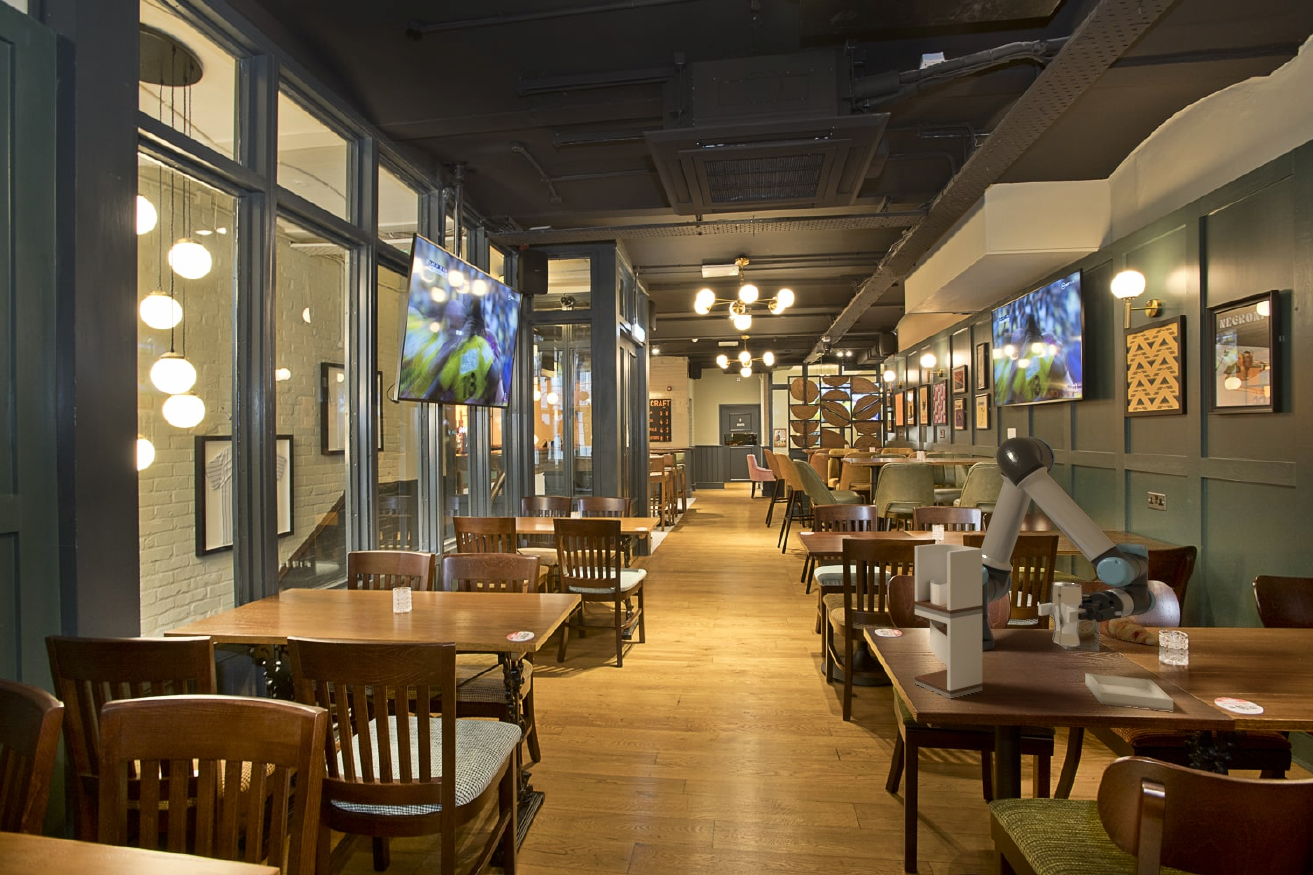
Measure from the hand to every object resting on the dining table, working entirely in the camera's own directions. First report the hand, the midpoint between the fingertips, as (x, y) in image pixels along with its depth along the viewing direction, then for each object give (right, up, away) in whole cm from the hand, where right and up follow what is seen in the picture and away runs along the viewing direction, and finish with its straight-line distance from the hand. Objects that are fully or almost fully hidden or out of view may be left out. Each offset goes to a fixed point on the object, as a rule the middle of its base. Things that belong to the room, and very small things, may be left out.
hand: (1053, 613), depth 170 cm
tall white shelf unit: (-28, -18, -3) cm, 34 cm away
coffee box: (+25, -18, +30) cm, 43 cm away
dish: (+12, -18, -9) cm, 23 cm away
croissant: (+45, -19, +40) cm, 64 cm away
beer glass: (+4, -8, +2) cm, 10 cm away
